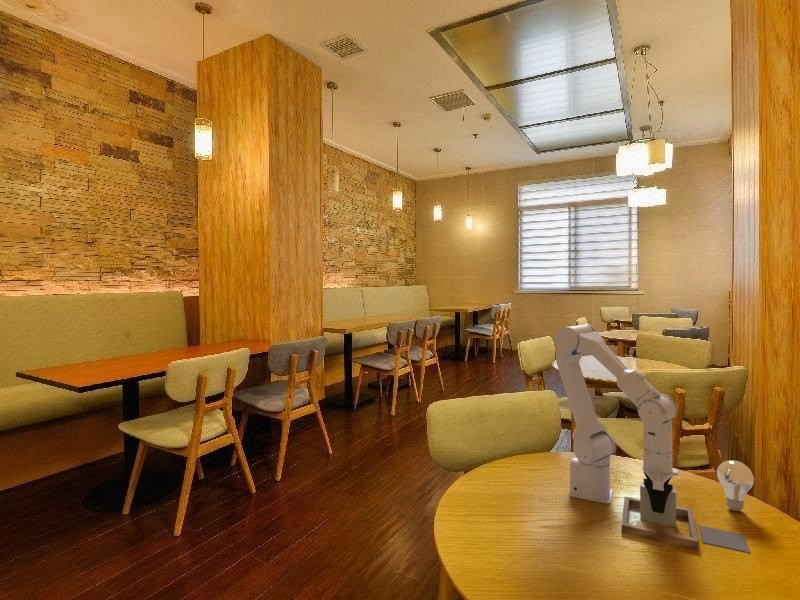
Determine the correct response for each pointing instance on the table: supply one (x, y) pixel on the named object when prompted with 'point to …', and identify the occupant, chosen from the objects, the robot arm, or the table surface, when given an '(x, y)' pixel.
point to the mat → (724, 539)
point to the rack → (656, 534)
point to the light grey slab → (651, 516)
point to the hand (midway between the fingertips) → (657, 507)
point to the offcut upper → (656, 527)
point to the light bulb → (735, 482)
